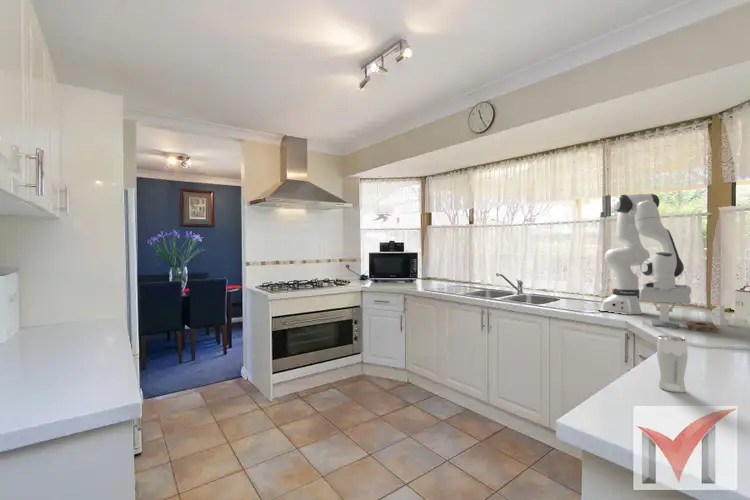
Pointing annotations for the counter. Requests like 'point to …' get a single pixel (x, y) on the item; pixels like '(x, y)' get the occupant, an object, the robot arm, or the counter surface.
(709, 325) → the header collar
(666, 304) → the plug
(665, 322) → the slate pad
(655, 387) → the counter surface
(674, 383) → the beer glass
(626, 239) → the robot arm
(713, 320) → the white wedge bracket
